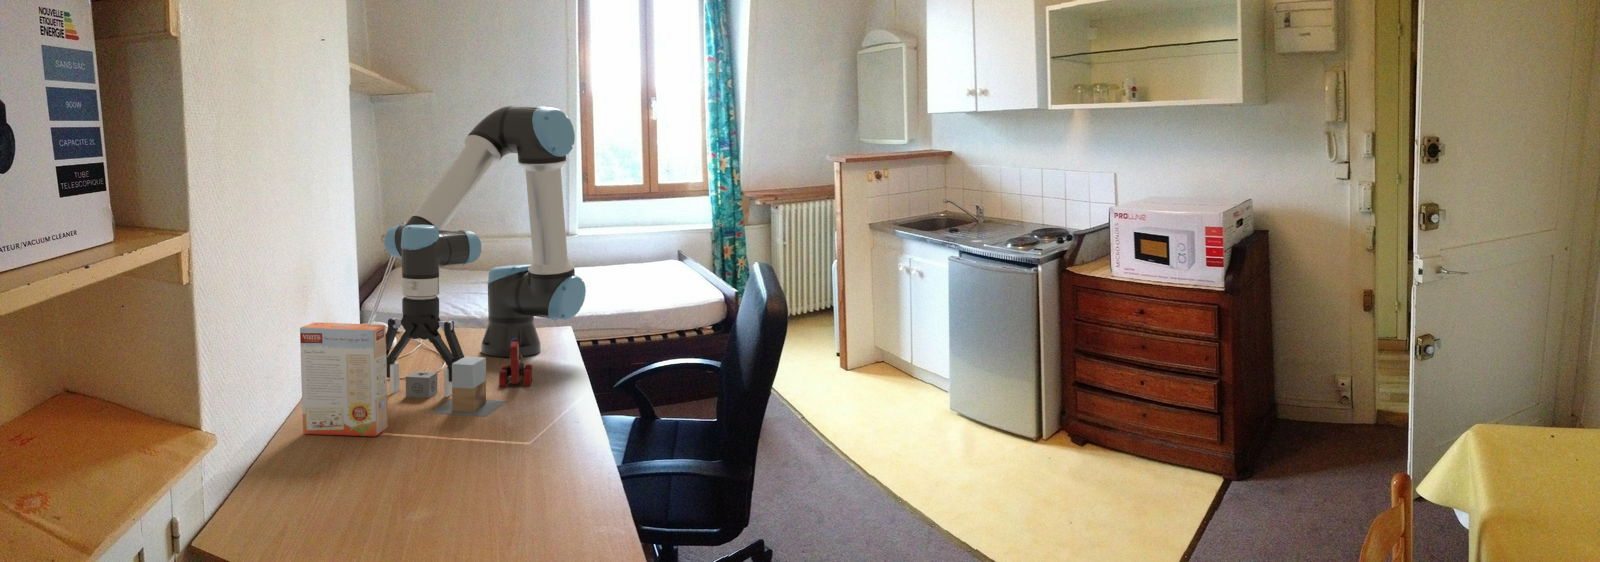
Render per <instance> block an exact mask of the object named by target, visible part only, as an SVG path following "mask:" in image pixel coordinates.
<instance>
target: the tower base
mask: <svg viewBox="0 0 1600 562" xmlns="http://www.w3.org/2000/svg"><path fill="white" fill-rule="evenodd" d="M451 399H452V411H464V412H474V411H475V410H477V409H478V408H480V407H481V406H483V405H484V404H486V400H487V380H486V381H484V382H483V383H481V384H480V385H478V386H476V387H475V388H473V389H470V388H454V387H452V395H451Z"/></svg>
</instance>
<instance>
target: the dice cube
mask: <svg viewBox="0 0 1600 562" xmlns="http://www.w3.org/2000/svg"><path fill="white" fill-rule="evenodd" d="M437 393H438V372H437V371H436V372H435V371H417V370H416V371H413V372H411V373H410V374H408V375H406V376H405V397H406V398H413V399H414V398H415V399H417V398H418V399H430V398H431V397H433V396H434V395H435V394H437Z"/></svg>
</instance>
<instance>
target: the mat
mask: <svg viewBox="0 0 1600 562" xmlns="http://www.w3.org/2000/svg"><path fill="white" fill-rule="evenodd" d="M506 403H508V400H496V399H495V400H494V399H493V400H492V399H486V404H484V405H483V406H481V407H480V408H478V409H477V410H475V411H474V412H464V411H452V398H451V399H449V400H448V401H446V402H445V403H443V404H441V405H440V406H438V407H436V408H434V409H433V410H432V411H430V412H429V414H435V415H436V414H437V415H452V416H465V417H466V416H470V417H483V418H486V417H488V416H489V415H491V414H492V413H493V412H495V411H496V410H498V409H499V408H500V407H502V406H503V405H505V404H506Z"/></svg>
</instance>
